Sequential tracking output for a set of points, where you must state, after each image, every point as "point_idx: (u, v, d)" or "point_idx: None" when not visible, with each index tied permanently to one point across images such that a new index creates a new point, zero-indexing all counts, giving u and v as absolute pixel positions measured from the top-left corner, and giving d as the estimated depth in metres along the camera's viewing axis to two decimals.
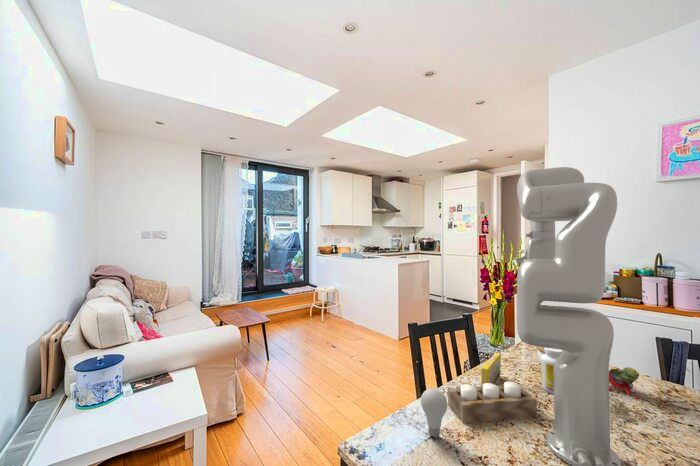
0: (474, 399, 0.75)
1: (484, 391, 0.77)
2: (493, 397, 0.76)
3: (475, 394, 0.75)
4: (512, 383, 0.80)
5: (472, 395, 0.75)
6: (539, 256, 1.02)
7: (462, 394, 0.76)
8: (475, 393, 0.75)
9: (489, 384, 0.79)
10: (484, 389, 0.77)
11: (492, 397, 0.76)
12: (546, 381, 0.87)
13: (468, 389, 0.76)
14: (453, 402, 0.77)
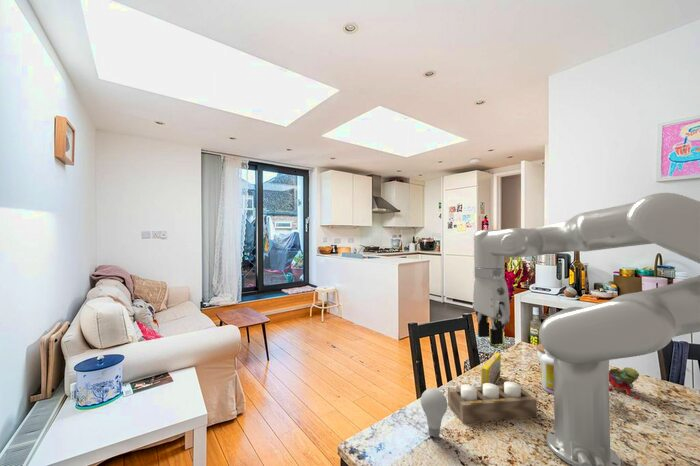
0: (474, 399, 0.75)
1: (484, 391, 0.77)
2: (493, 397, 0.76)
3: (475, 394, 0.75)
4: (512, 383, 0.80)
5: (472, 395, 0.75)
6: None
7: (462, 394, 0.76)
8: (475, 393, 0.75)
9: (489, 384, 0.79)
10: (484, 389, 0.77)
11: (492, 397, 0.76)
12: (546, 381, 0.87)
13: (468, 389, 0.76)
14: (453, 402, 0.77)
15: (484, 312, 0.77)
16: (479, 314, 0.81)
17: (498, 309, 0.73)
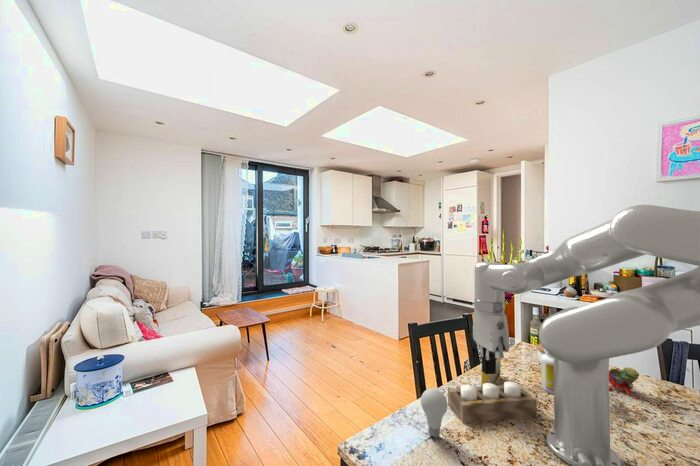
0: (474, 399, 0.75)
1: (484, 391, 0.77)
2: (493, 397, 0.76)
3: (475, 394, 0.75)
4: (512, 383, 0.80)
5: (472, 395, 0.75)
6: None
7: (462, 394, 0.76)
8: (475, 393, 0.75)
9: (489, 384, 0.79)
10: (484, 389, 0.77)
11: (492, 397, 0.76)
12: (546, 381, 0.87)
13: (468, 389, 0.76)
14: (453, 402, 0.77)
15: (483, 345, 0.77)
16: (481, 347, 0.79)
17: (497, 344, 0.73)
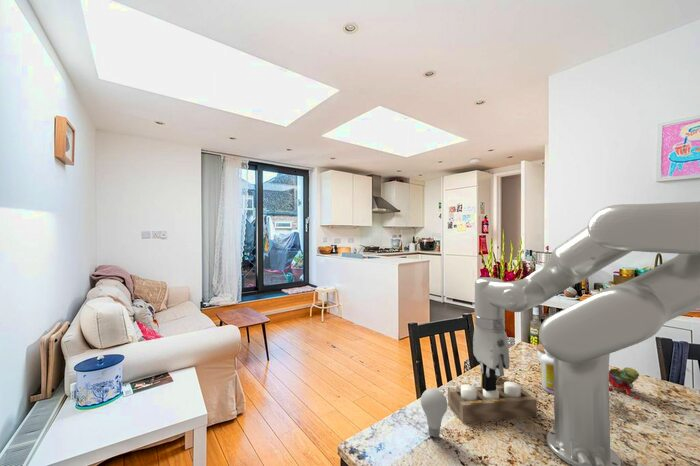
0: (474, 399, 0.75)
1: (484, 394, 0.77)
2: None
3: (475, 394, 0.75)
4: (512, 383, 0.80)
5: (472, 395, 0.75)
6: None
7: (462, 394, 0.76)
8: (475, 393, 0.75)
9: None
10: (484, 392, 0.77)
11: None
12: (546, 381, 0.87)
13: (468, 389, 0.76)
14: (453, 402, 0.77)
15: (484, 361, 0.77)
16: (482, 363, 0.79)
17: (498, 361, 0.73)
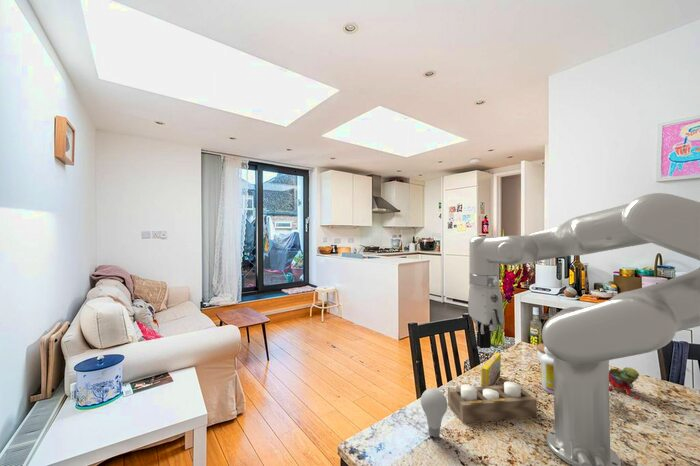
0: (474, 399, 0.75)
1: None
2: None
3: (475, 394, 0.75)
4: (512, 383, 0.80)
5: (472, 395, 0.75)
6: None
7: (462, 394, 0.76)
8: (475, 393, 0.75)
9: (489, 390, 0.79)
10: (484, 395, 0.77)
11: None
12: (546, 381, 0.87)
13: (468, 389, 0.76)
14: (453, 402, 0.77)
15: (478, 319, 0.77)
16: (476, 322, 0.79)
17: (491, 316, 0.73)
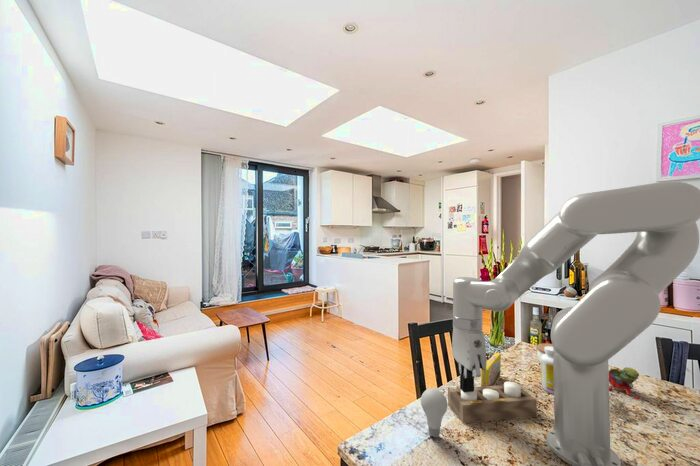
0: None
1: None
2: None
3: (475, 397, 0.75)
4: (512, 383, 0.80)
5: (472, 398, 0.75)
6: None
7: (462, 397, 0.76)
8: (475, 396, 0.75)
9: (489, 390, 0.79)
10: (484, 395, 0.77)
11: None
12: (546, 381, 0.87)
13: (468, 392, 0.76)
14: (453, 402, 0.77)
15: (461, 362, 0.76)
16: (460, 364, 0.78)
17: (474, 362, 0.72)
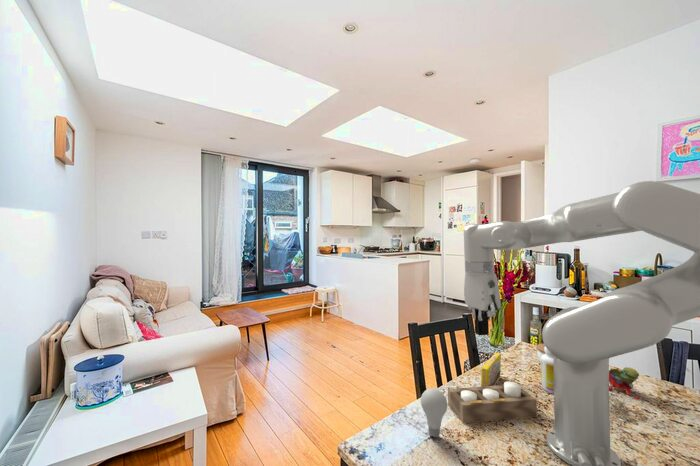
0: None
1: None
2: None
3: (475, 400, 0.75)
4: (512, 383, 0.80)
5: None
6: None
7: None
8: (475, 399, 0.75)
9: (489, 390, 0.79)
10: (484, 395, 0.77)
11: None
12: (546, 381, 0.87)
13: (468, 395, 0.76)
14: (453, 402, 0.77)
15: (475, 306, 0.78)
16: (473, 309, 0.80)
17: (489, 302, 0.74)
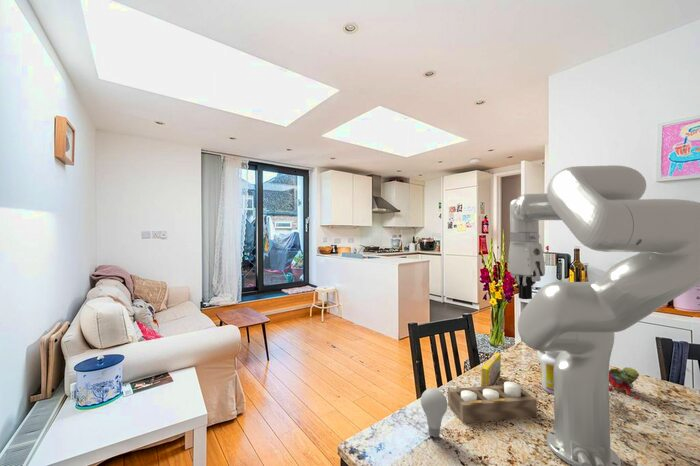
0: None
1: None
2: None
3: (475, 400, 0.75)
4: (512, 383, 0.80)
5: None
6: None
7: None
8: (475, 399, 0.75)
9: (489, 390, 0.79)
10: (484, 395, 0.77)
11: None
12: (546, 381, 0.87)
13: (468, 395, 0.76)
14: (453, 402, 0.77)
15: (520, 272, 0.85)
16: (518, 276, 0.87)
17: (535, 268, 0.81)
